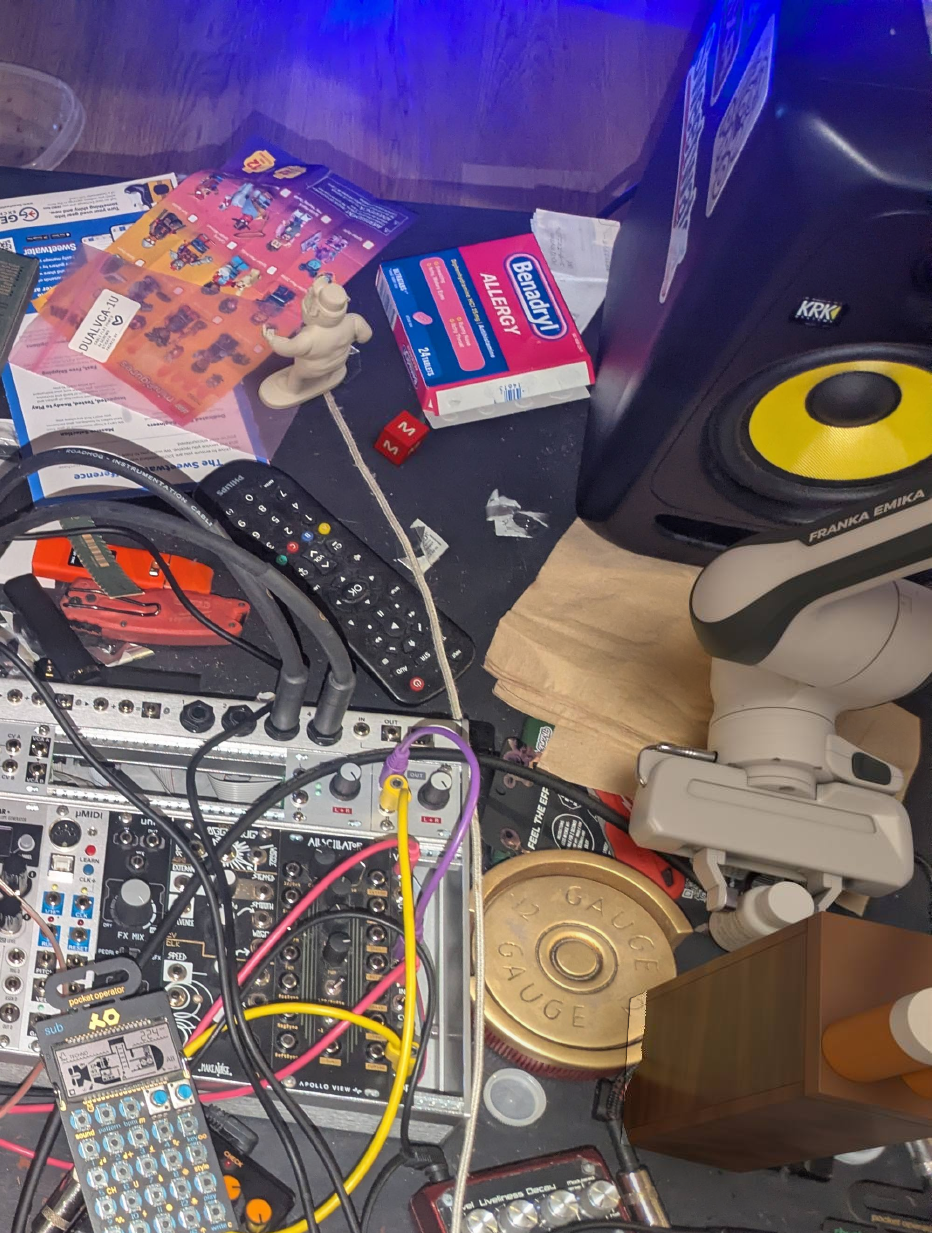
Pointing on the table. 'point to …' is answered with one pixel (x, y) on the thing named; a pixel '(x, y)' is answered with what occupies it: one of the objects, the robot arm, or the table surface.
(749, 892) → the pill bottle
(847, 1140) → the wooden crate
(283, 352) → the figurine
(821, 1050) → the shelf
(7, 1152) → the table surface
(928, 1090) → the amber bottle
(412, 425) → the dice
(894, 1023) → the amber bottle
